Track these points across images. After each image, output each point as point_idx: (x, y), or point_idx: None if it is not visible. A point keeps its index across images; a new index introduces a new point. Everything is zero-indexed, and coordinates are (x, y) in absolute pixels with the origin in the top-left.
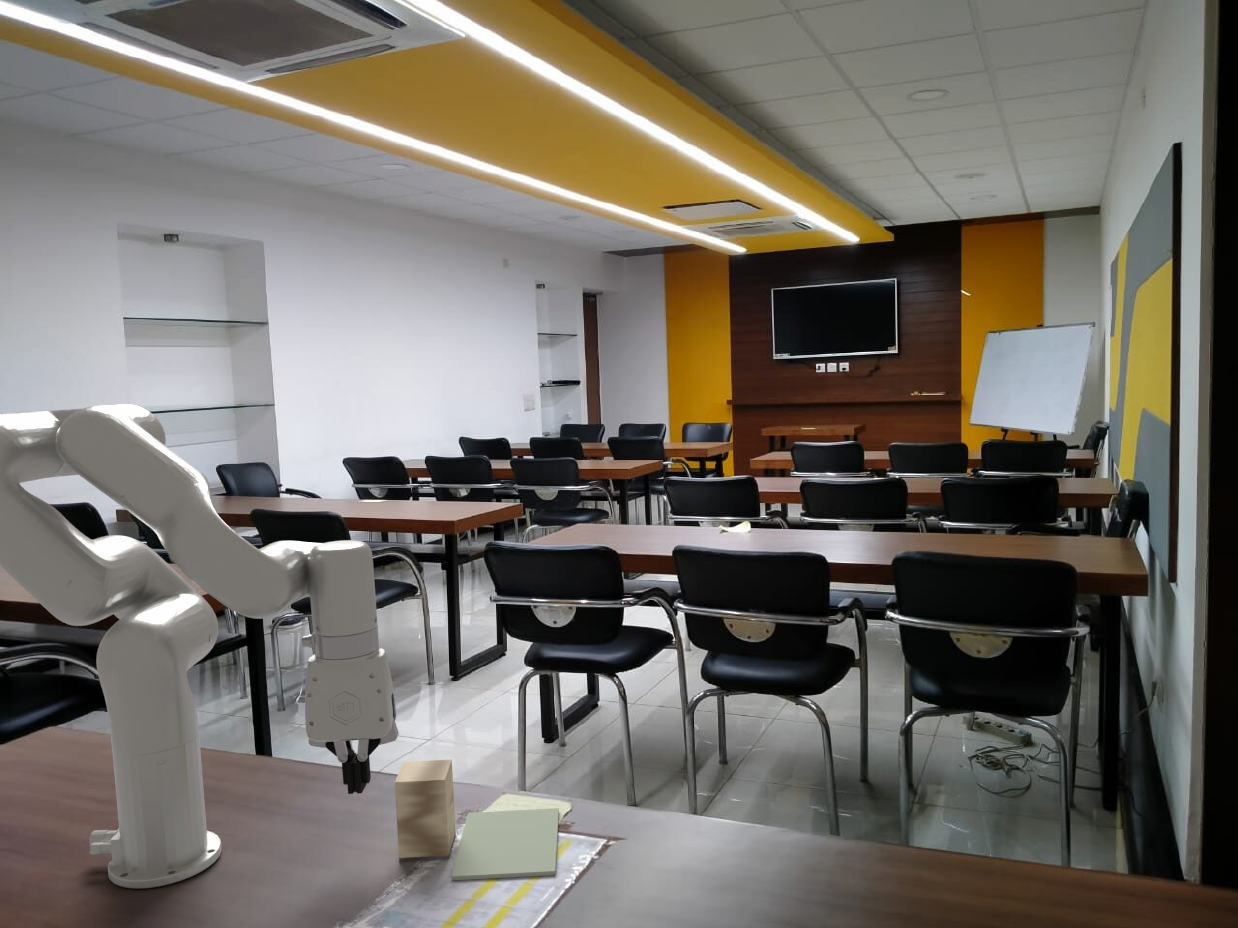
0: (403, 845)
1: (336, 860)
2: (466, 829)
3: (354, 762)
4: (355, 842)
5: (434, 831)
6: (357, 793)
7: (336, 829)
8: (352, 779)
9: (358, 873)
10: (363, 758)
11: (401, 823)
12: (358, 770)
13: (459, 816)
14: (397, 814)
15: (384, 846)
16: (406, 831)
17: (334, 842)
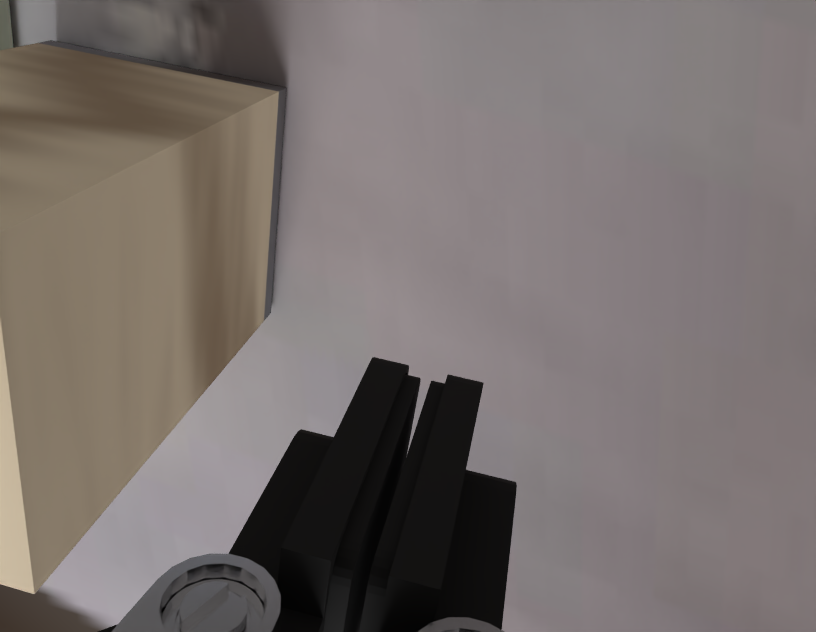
0: (225, 100)
1: (608, 214)
2: None
3: (344, 587)
4: (514, 359)
5: (12, 78)
6: (408, 368)
7: (603, 501)
8: (415, 446)
9: (490, 35)
10: (212, 581)
11: (164, 128)
12: (321, 482)
13: None
14: (154, 150)
15: (375, 277)
16: (163, 110)
17: (615, 392)
